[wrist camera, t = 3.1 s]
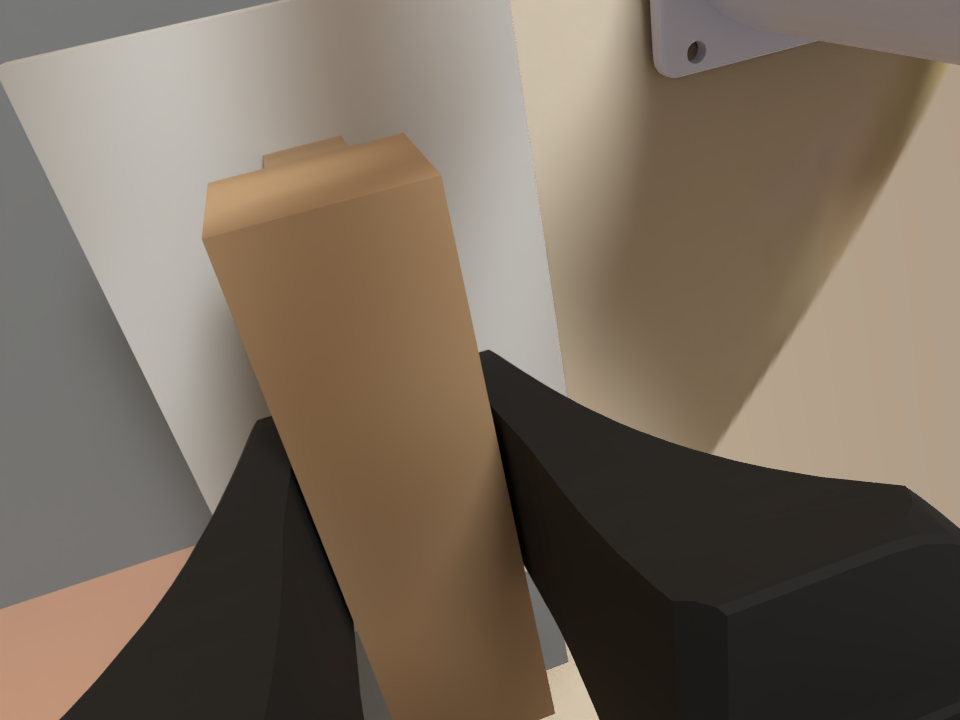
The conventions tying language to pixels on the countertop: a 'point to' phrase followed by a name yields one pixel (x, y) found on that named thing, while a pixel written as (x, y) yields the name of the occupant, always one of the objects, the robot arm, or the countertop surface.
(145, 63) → the trowel
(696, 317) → the countertop surface
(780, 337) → the countertop surface
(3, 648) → the tile
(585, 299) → the countertop surface
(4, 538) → the mat
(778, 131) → the countertop surface
